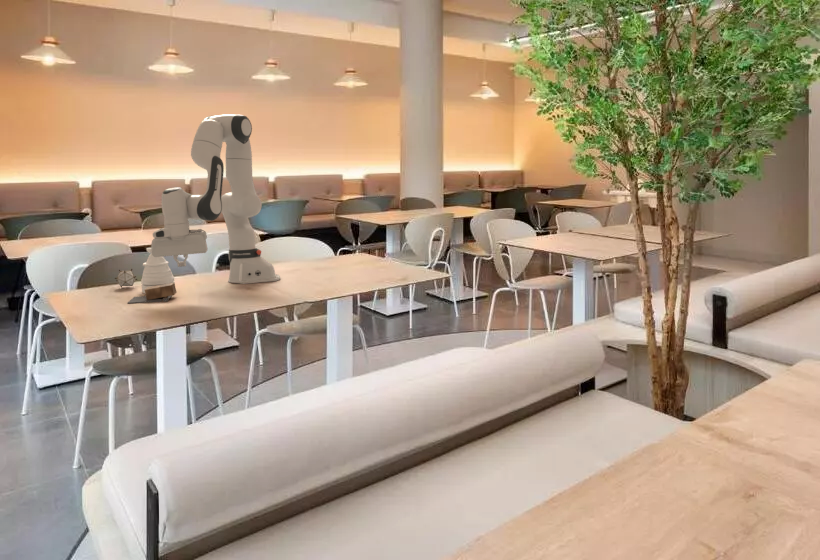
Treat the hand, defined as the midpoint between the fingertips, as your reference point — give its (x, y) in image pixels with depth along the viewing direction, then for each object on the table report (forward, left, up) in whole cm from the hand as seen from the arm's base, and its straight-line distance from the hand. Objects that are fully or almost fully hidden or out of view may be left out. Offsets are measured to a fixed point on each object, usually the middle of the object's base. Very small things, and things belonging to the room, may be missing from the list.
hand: (182, 266), depth 246 cm
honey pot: (+13, -18, -12) cm, 25 cm away
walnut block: (+4, +1, -8) cm, 9 cm away
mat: (+14, +1, -12) cm, 18 cm away
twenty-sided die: (+28, -31, -12) cm, 44 cm away
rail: (+6, +1, -12) cm, 13 cm away
